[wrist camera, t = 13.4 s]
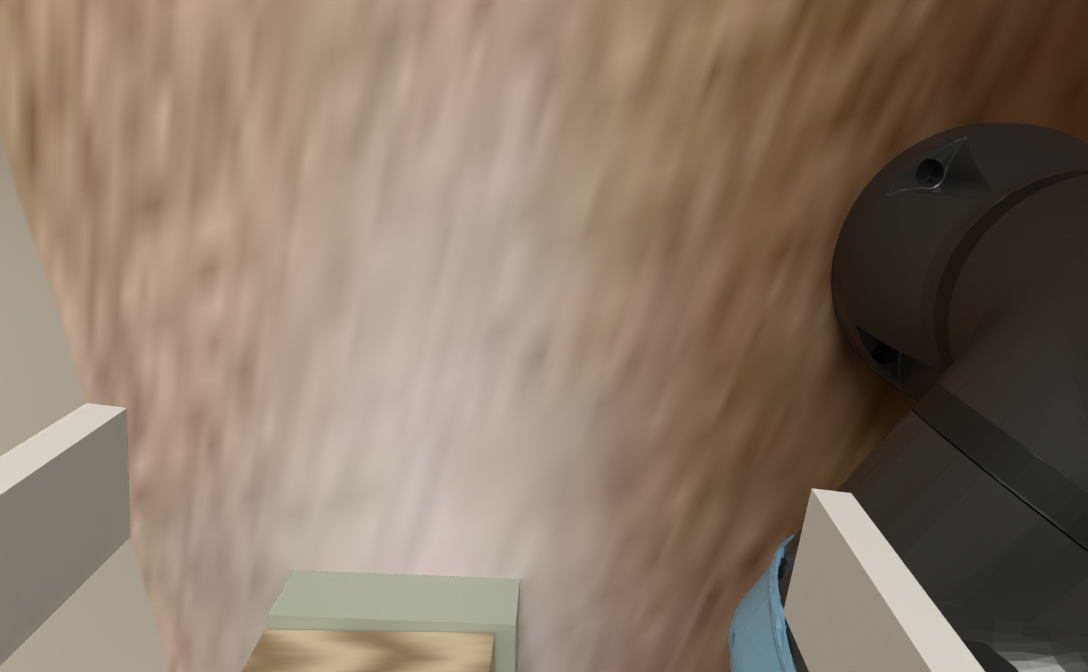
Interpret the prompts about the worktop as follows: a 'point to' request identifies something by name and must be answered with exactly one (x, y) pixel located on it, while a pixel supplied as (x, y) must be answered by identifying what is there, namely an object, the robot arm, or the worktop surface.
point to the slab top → (372, 651)
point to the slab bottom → (403, 606)
